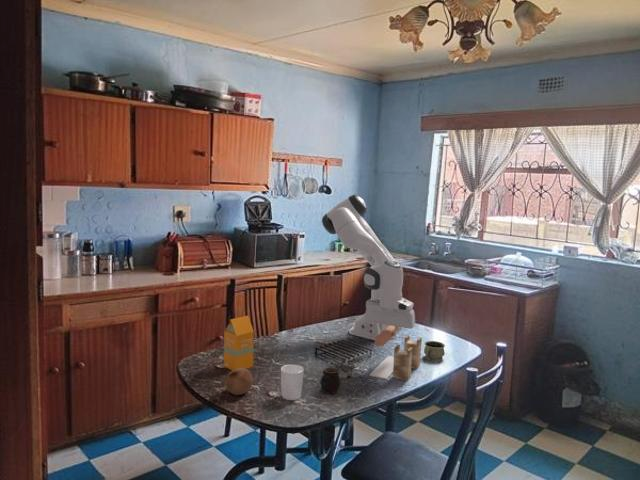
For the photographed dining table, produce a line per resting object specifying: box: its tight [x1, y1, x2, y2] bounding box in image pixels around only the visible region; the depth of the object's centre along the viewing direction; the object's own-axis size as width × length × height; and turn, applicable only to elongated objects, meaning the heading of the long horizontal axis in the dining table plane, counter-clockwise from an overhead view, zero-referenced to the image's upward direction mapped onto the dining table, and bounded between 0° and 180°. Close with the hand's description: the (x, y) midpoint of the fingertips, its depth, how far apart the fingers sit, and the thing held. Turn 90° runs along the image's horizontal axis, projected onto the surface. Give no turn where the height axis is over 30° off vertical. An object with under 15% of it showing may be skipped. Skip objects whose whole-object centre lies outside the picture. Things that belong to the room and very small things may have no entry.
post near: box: [392, 344, 413, 382], centre depth 197 cm, size 6×4×12 cm, turn 64°
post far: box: [403, 334, 423, 370], centre depth 210 cm, size 6×4×12 cm, turn 65°
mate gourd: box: [319, 364, 342, 394], centre depth 183 cm, size 7×8×10 cm
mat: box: [369, 355, 394, 381], centre depth 208 cm, size 7×24×1 cm, turn 154°
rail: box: [374, 325, 402, 347], centre depth 206 cm, size 3×24×3 cm, turn 154°
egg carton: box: [327, 360, 357, 379], centre depth 200 cm, size 11×8×4 cm
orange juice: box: [223, 315, 255, 371], centre depth 202 cm, size 8×9×20 cm
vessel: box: [423, 340, 446, 362], centre depth 220 cm, size 12×9×6 cm
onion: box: [225, 368, 254, 396], centre depth 178 cm, size 10×9×10 cm
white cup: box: [280, 364, 304, 401], centre depth 177 cm, size 8×8×10 cm
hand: (388, 335), depth 206 cm, fingers closed on rail, 3 cm apart
